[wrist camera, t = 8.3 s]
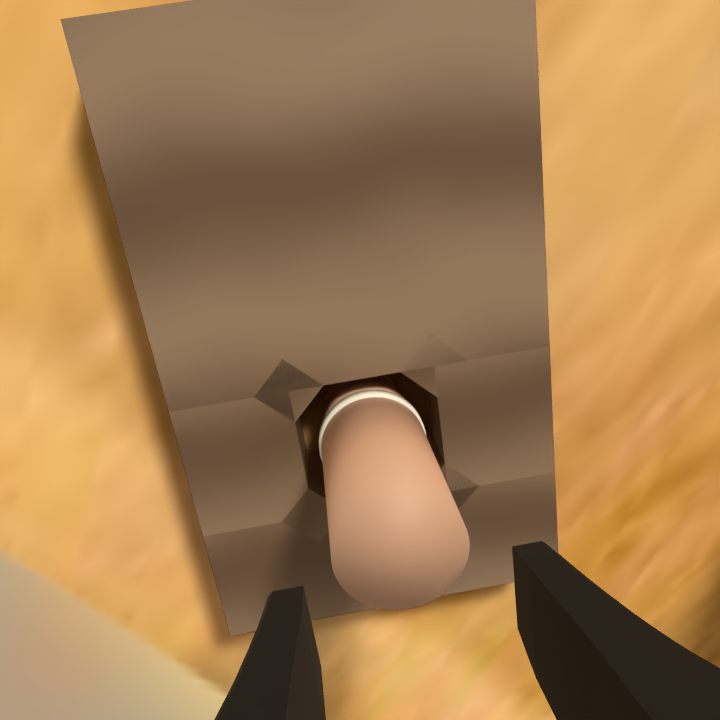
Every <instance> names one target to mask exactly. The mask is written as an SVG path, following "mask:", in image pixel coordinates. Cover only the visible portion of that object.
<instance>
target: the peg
mask: <svg viewBox="0 0 720 720" xmlns="http://www.w3.org/2000/svg"><path fill="white" fill-rule="evenodd" d="M319 451H320V457H321V460H322V463H323V473H324V485H325V496H326V507H327V518H328V530H329V541H330V552H331V563H332V568H333V572H334V574H335V577H336V579H337V581H338V582H339V584H340V585H341V587H342V588H343V589H344V590H345V591H346V592H347V593H348V594H349V595H350V596H351V597H353V598H354V599H356V600H357V601H359V602H361V603H363V604H365V605H368V606H370V607H374V608H378V609H385V610H404V609H410V608H414V607H418V606H421V605H424V604H426V603H429V602H431V601H433V600H434V599H436V598H438V597H439V596H441V595H442V594H444V593H445V592H446V591H447V590H448V589H450V588H451V587H452V586H453V584H454V583H455V582H456V581H457V580H458V578H459V577H460V575H461V574H462V572H463V570H464V568H465V566H466V563H467V560H468V556H469V548H470V543H469V535H468V531H467V528H466V526H465V524H464V522H463V519H462V517H461V515H460V512H459V510H458V508H457V506H456V503H455V501H454V499H453V496H452V494H451V492H450V490H449V487H448V485H447V483H446V480H445V478H444V476H443V474H442V471H441V469H440V467H439V464H438V462H437V460H436V458H435V455H434V453H433V451H432V448H431V446H430V444H429V442H428V439H427V437H426V431H425V428H424V425H423V423H422V420H421V418H420V416H419V414H418V412H417V411H416V409H415V408H414V407H413V406H412V405H411V404H410V403H409V402H408V401H407V399H406V398H405V396H404V394H403V393H402V392H401V391H400V390H399V389H398V388H397V387H396V386H395V384H394V383H393V381H392V380H391V379H390V378H389V377H387V376H386V375H381V376H375V377H369V378H363V379H358V380H352V381H346V382H340V383H335V384H332V386H331V387H330V389H329V391H328V393H327V396H326V401H325V408H324V411H323V416H322V425H321V428H320V432H319Z"/></svg>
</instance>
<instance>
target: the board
mask: <svg viewBox="0 0 720 720" xmlns="http://www.w3.org/2000/svg"><path fill="white" fill-rule="evenodd" d="M61 23H62V26H63V30H64V34H65V37H66V41H67V45H68V48H69V52H70V56H71V59H72V63H73V66H74V70H75V74H76V77H77V81H78V85H79V88H80V92H81V95H82V99H83V103H84V106H85V110H86V114H87V117H88V121H89V124H90V128H91V132H92V135H93V139H94V143H95V146H96V150H97V153H98V157H99V161H100V164H101V168H102V172H103V175H104V179H105V182H106V186H107V190H108V193H109V197H110V201H111V204H112V208H113V211H114V215H115V219H116V222H117V226H118V230H119V233H120V237H121V240H122V244H123V248H124V251H125V255H126V259H127V262H128V266H129V270H130V273H131V277H132V280H133V284H134V288H135V291H136V295H137V299H138V302H139V306H140V309H141V313H142V317H143V320H144V324H145V328H146V331H147V335H148V338H149V342H150V346H151V349H152V353H153V357H154V360H155V364H156V367H157V371H158V375H159V378H160V382H161V386H162V389H163V393H164V396H165V400H166V404H167V407H168V411H169V415H170V418H171V422H172V425H173V429H174V433H175V436H176V440H177V444H178V447H179V451H180V454H181V458H182V462H183V465H184V469H185V473H186V476H187V480H188V483H189V487H190V491H191V494H192V498H193V502H194V505H195V509H196V513H197V516H198V520H199V523H200V527H201V531H202V534H203V538H204V542H205V545H206V549H207V552H208V556H209V560H210V563H211V567H212V571H213V574H214V578H215V581H216V585H217V589H218V592H219V596H220V600H221V603H222V607H223V610H224V614H225V618H226V621H227V625H228V629H229V632H230V636H232V635H238V634H243V633H248V632H254V631H256V630H257V627H258V624H259V622H260V619H261V616H262V613H263V610H264V607H265V604H266V601H267V597H268V596H269V595H270V594H271V592H272V591H277V590H282V589H288V588H293V587H298V586H304V591H305V595H306V600H307V605H308V609H309V614H310V618H311V620H317V619H322V618H327V617H332V616H338V615H343V614H348V613H353V612H359V611H364V610H369V609H375V608H374V607H370V606H368V605H365V604H363V603H361V602H359V601H357V600H356V599H354V598H353V597H351V596H350V595H349V594H348V593H347V592H346V591H345V590H344V589H343V588H342V587H341V585H340V584H339V582H338V581H337V579H336V577H335V574H334V572H333V568H332V563H331V552H330V541H329V530H328V518H327V507H326V496H325V485H324V473H323V463H322V460H321V458H320V457H318V456H316V455H315V454H313V453H311V452H310V451H308V450H306V445H305V440H304V435H303V430H302V425H301V420H300V415H301V414H302V413H303V412H304V410H305V409H306V408H307V406H308V405H309V404H310V402H311V401H312V400H313V398H314V397H315V396H316V394H317V393H318V392H319V391H320V389H321V388H322V387H323V385H329V384H335V383H340V382H346V381H352V380H358V379H363V378H369V377H375V376H381V375H387V374H392V373H398V372H401V373H402V374H404V375H405V376H407V377H408V378H410V379H411V380H413V381H414V382H415V383H417V384H418V385H420V386H421V387H423V388H424V395H425V404H426V412H427V421H428V429H427V430H426V437H427V439H428V442H429V444H430V446H431V448H432V451H433V453H434V455H435V458H436V460H437V462H438V464H439V467H440V469H441V471H442V474H443V476H444V478H445V480H446V483H447V485H448V487H449V490H450V492H451V494H452V496H453V499H454V501H455V503H456V506H457V508H458V510H459V512H460V515H461V517H462V519H463V522H464V524H465V526H466V528H467V531H468V535H469V543H470V548H469V556H468V560H467V563H466V566H465V568H464V570H463V572H462V574H461V575H460V577H459V578H458V580H457V581H456V582H455V583H454V584H453V586H452V587H451V588H450V589H448V590H447V591H446V592H445V593H444V594H442V595H441V596H443V595H448V594H453V593H459V592H464V591H469V590H474V589H480V588H485V587H490V586H496V585H501V584H506V583H511V582H514V568H513V554H512V546H517V545H522V544H528V543H533V542H538V541H543V542H545V543H546V544H547V545H549V546H550V547H551V548H552V549H553V550H555V551H556V552H557V553H558V537H557V513H556V489H555V464H554V440H553V416H552V391H551V367H550V343H549V319H548V294H547V270H546V246H545V222H544V197H543V173H542V149H541V125H540V100H539V76H538V52H537V28H536V3H535V0H192V1H185V2H178V3H171V4H164V5H157V6H150V7H143V8H136V9H129V10H122V11H115V12H108V13H101V14H94V15H87V16H80V17H73V18H66V19H61Z"/></svg>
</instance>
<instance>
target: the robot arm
mask: <svg viewBox="0 0 720 720" xmlns="http://www.w3.org/2000/svg"><path fill="white" fill-rule="evenodd" d="M512 554H513V568H514V582H515V596H516V610H517V624H518V630H519V633H520V636H521V638H522V641H523V644H524V647H525V650H526V652H527V655H528V658H529V660H530V663H531V666H532V668H533V671H534V674H535V676H536V679H537V681H538V683H539V685H540V687H541V689H542V691H543V693H544V695H545V697H546V699H547V701H548V703H549V705H550V707H551V709H552V711H553V713H554V715H555V717H556V719H557V720H720V668H718V667H716V666H715V665H713V664H711V663H710V662H708V661H706V660H704V659H703V658H701V657H699V656H697V655H696V654H694V653H692V652H691V651H689V650H687V649H686V648H684V647H683V646H681V645H679V644H678V643H676V642H675V641H673V640H672V639H670V638H669V637H667V636H666V635H664V634H663V633H661V632H660V631H658V630H657V629H655V628H654V627H652V626H651V625H649V624H648V623H647V622H645V621H644V620H642V619H641V618H640V617H638V616H637V615H635V614H634V613H633V612H631V611H630V610H629V609H627V608H626V607H625V606H623V605H622V604H621V603H619V602H618V601H617V600H615V599H614V598H613V597H611V596H610V595H609V594H607V593H606V592H605V591H604V590H602V589H601V588H600V587H598V586H597V585H596V584H595V583H593V582H592V581H591V580H590V579H588V578H587V577H586V576H585V575H584V574H582V573H581V572H580V571H579V570H577V569H576V568H575V567H574V566H573V565H571V564H570V563H569V562H568V561H567V560H565V559H564V558H563V557H562V556H561V555H559V554H558V553H557V552H556V551H555V550H553V549H552V548H551V547H550V546H549V545H547V544H546V543H545V542H543V541H538V542H533V543H528V544H522V545H517V546H512ZM215 720H326V718H325V706H324V695H323V684H322V673H321V665H320V660H319V655H318V651H317V646H316V642H315V637H314V632H313V628H312V623H311V618H310V614H309V609H308V605H307V600H306V595H305V591H304V586H298V587H293V588H288V589H282V590H277V591H272V592H271V594H270V595H269V596H268V597H267V601H266V604H265V607H264V610H263V613H262V616H261V619H260V622H259V624H258V627H257V630H256V632H255V635H254V637H253V640H252V642H251V644H250V647H249V649H248V652H247V654H246V656H245V658H244V661H243V663H242V665H241V667H240V669H239V672H238V674H237V676H236V678H235V681H234V683H233V685H232V687H231V689H230V691H229V693H228V695H227V697H226V698H225V700H224V702H223V704H222V706H221V708H220V710H219V712H218V714H217V716H216V718H215Z"/></svg>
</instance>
